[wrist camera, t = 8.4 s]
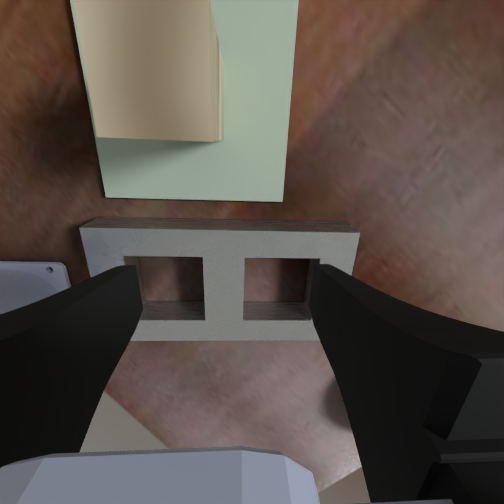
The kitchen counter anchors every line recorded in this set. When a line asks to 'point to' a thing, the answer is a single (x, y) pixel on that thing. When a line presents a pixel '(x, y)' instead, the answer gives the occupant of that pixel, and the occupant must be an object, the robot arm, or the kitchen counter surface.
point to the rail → (220, 271)
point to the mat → (235, 118)
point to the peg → (153, 68)
